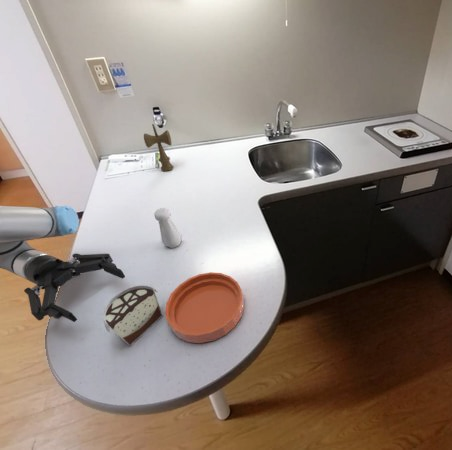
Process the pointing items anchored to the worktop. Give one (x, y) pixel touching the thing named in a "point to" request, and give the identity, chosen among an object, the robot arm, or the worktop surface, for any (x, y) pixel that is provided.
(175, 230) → the salt shaker
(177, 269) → the worktop surface
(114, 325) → the food container
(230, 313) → the bowl
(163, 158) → the kendama
